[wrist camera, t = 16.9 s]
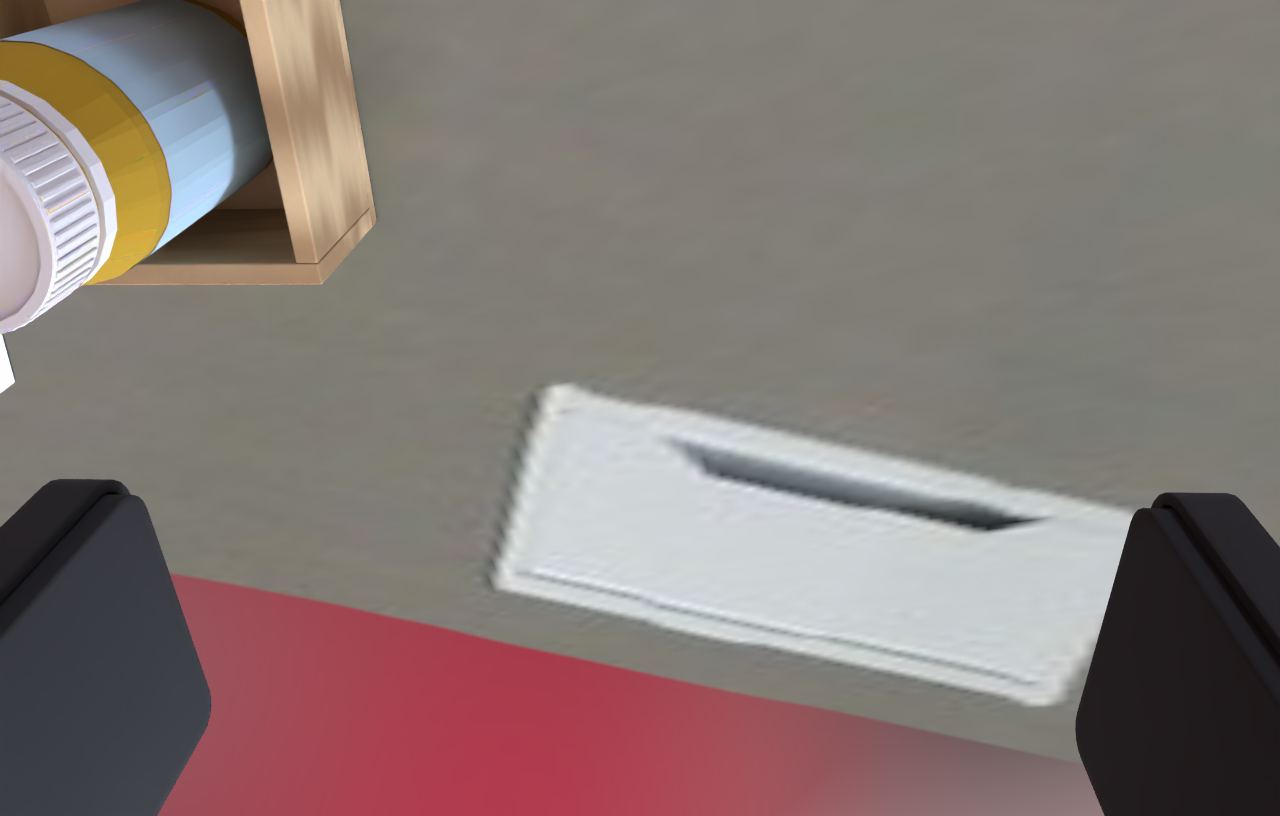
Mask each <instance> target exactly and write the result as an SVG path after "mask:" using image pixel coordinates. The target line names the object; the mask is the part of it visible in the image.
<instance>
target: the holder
mask: <svg viewBox="0 0 1280 816" xmlns="http://www.w3.org/2000/svg"><path fill="white" fill-rule="evenodd" d="M138 1H142V0H0V40H1V39H4V38H8V37H12V36H15V35H19V34H22V33H26V32H30V31H33V30H37V29H41V28H44V27H48V26H51V25H55V24H59V23H62V22H66V21H70V20H73V19H77V18H80V17H84V16H88V15H91V14H95V13H99V12H102V11H106V10H109V9H113V8H117V7H120V6H124V5H128V4H131V3H135V2H138ZM196 1H199V2H201V3H204V4H207V5H209V6H212V7H214V8H217V9H219V10H220V11H222V12H224V13H225V14H227V15H228V16H229V17H231V18H232V19H233V20H235V21H236V22H237V23H239V24H240V25H242V26H243V27H244V28H245V29H246V33H247V38H248V42H249V47H250V52H251V56H252V61H253V66H254V70H255V75H256V79H257V84H258V89H259V93H260V98H261V103H262V107H263V112H264V116H265V121H266V126H267V130H268V135H269V140H270V144H271V149H272V153H273V160H272V161H271V163H270V164H269V165H268V166H267V168H266V169H264V170H263V171H262V172H261V173H260V174H259V175H257V176H256V177H255V178H253V179H252V180H251V181H250V182H248V183H247V184H246V185H244V186H243V187H242V188H240V189H239V190H237V191H236V192H235V193H233V194H232V195H231V196H229V197H228V198H227V199H225V200H224V201H223V202H221V203H220V204H219V205H217V206H216V207H214V208H213V209H212V210H210V211H209V212H208V213H206V214H205V215H204V216H202V217H201V218H200V219H198V220H197V221H196V222H194V223H193V224H191V225H190V226H189V227H187V228H186V229H185V230H183V231H182V232H181V233H179V234H178V235H177V236H175V237H174V238H172V239H171V240H170V241H168V242H167V243H166V244H164V245H163V246H162V247H160V248H159V249H158V250H156V251H155V252H154V253H152V254H151V255H149V256H148V257H147V258H145V259H144V260H143V261H141V262H140V263H139V264H137V265H136V266H135V267H133V268H132V269H129V270H127V271H126V272H125V273H123V274H122V275H120V276H118V277H116V278H113V279H109V280H106V281H102V282H98V283H94V284H89V285H245V284H323V282H324V281H325V280H326V279H327V278H328V277H329V276H330V274H331V273H332V272H333V271H334V270H335V269H336V268H337V266H338V265H339V264H340V263H341V262H342V261H343V260H344V258H345V257H346V256H347V255H348V254H349V253H350V252H351V250H352V249H353V248H354V247H355V246H356V245H357V244H358V242H359V241H360V240H361V239H362V238H363V237H364V236H365V234H366V233H367V232H368V231H369V230H370V229H371V228H372V226H373V225H374V224H375V223H376V222H377V220H376V214H375V208H374V202H373V196H372V190H371V184H370V178H369V172H368V166H367V160H366V155H365V149H364V143H363V137H362V131H361V125H360V119H359V113H358V107H357V101H356V95H355V89H354V83H353V77H352V71H351V65H350V59H349V53H348V48H347V42H346V36H345V30H344V24H343V18H342V12H341V6H340V0H196Z"/></svg>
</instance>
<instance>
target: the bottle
mask: <svg viewBox="0 0 1280 816" xmlns="http://www.w3.org/2000/svg"><path fill="white" fill-rule="evenodd" d="M272 160H273V153H272V149H271V144H270V140H269V135H268V130H267V126H266V121H265V116H264V112H263V107H262V103H261V98H260V93H259V89H258V84H257V79H256V75H255V70H254V66H253V61H252V56H251V52H250V47H249V42H248V38H247V33H246V29H245V28H244V27H243V26H242V25H240V24H239V23H237V22H236V21H235V20H233V19H232V18H231V17H229V16H228V15H227V14H225V13H224V12H222V11H220V10H219V9H217V8H214V7H212V6H209V5H207V4H204V3H201V2H199V1H196V0H142V1H138V2H135V3H131V4H128V5H124V6H120V7H117V8H113V9H109V10H106V11H102V12H99V13H95V14H91V15H88V16H84V17H80V18H77V19H73V20H70V21H66V22H62V23H59V24H55V25H51V26H48V27H44V28H41V29H37V30H33V31H30V32H26V33H22V34H19V35H15V36H12V37H8V38H4V39H1V40H0V334H3V333H6V332H8V331H14V330H16V329H17V328H19V327H23V326H25V325H26V324H28V323H29V322H31V321H33V320H34V319H36V318H37V317H38V316H40V315H41V314H43V313H44V312H46V311H47V310H48V309H50V308H51V307H53V306H54V305H55V304H57V303H58V302H60V301H61V300H63V299H64V298H65V297H67V296H68V295H70V294H71V293H72V292H73V291H74V290H75V289H77V288H78V287H80V286H81V285H89V284H94V283H98V282H102V281H106V280H109V279H113V278H116V277H118V276H120V275H122V274H123V273H125V272H126V271H127V270H129V269H132V268H133V267H135V266H136V265H137V264H139V263H140V262H141V261H143V260H144V259H145V258H147V257H148V256H149V255H151V254H152V253H154V252H155V251H156V250H158V249H159V248H160V247H162V246H163V245H164V244H166V243H167V242H168V241H170V240H171V239H172V238H174V237H175V236H177V235H178V234H179V233H181V232H182V231H183V230H185V229H186V228H187V227H189V226H190V225H191V224H193V223H194V222H196V221H197V220H198V219H200V218H201V217H202V216H204V215H205V214H206V213H208V212H209V211H210V210H212V209H213V208H214V207H216V206H217V205H219V204H220V203H221V202H223V201H224V200H225V199H227V198H228V197H229V196H231V195H232V194H233V193H235V192H236V191H237V190H239V189H240V188H242V187H243V186H244V185H246V184H247V183H248V182H250V181H251V180H252V179H253V178H255V177H256V176H257V175H259V174H260V173H261V172H262V171H263V170H264V169H266V168H267V166H268V165H269V164H270V163H271V161H272Z"/></svg>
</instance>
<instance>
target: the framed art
mask: <svg viewBox="0 0 1280 816" xmlns="http://www.w3.org/2000/svg"><path fill="white" fill-rule="evenodd" d="M14 382H15V381H14V377H13V373H12V369H11V366H10V362H9V358H8V355H7V351H6V347H5V344H4V340H3V336H2V334H0V393H1V392H3V391H4V390H5V389H6V388H8V387H9V386H10V385H12V384H13V383H14Z"/></svg>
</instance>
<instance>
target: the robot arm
mask: <svg viewBox="0 0 1280 816" xmlns="http://www.w3.org/2000/svg"><path fill="white" fill-rule="evenodd" d="M210 712H211V695H210V690H209V687H208V684H207V681H206V679H205V676H204V673H203V670H202V667H201V664H200V661H199V658H198V655H197V652H196V649H195V647H194V644H193V641H192V638H191V635H190V632H189V629H188V626H187V623H186V620H185V617H184V615H183V612H182V609H181V606H180V603H179V600H178V597H177V594H176V591H175V588H174V586H173V583H172V580H171V577H170V574H169V571H168V568H167V565H166V562H165V559H164V556H163V554H162V551H161V548H160V545H159V542H158V539H157V536H156V533H155V530H154V527H153V525H152V522H151V519H150V516H149V513H148V510H147V508H146V506H145V504H144V502H143V500H141V499H140V498H139V497H138V496H135V495H130V493H129V491H128V489H127V488H126V487H125V486H124V485H123V484H122V483H121V482H118V481H115V480H93V479H58V480H53V481H50V482H49V483H47V484H46V485H44V486H43V487H42V488H41V489H40V490H39V491H38V492H37V493H35V494H34V495H33V496H32V497H31V498H30V499H29V500H28V501H27V502H26V503H25V504H24V505H23V506H22V507H21V508H20V509H19V510H18V511H17V512H16V513H15V514H14V515H13V516H12V517H11V518H10V519H9V520H8V521H7V522H5V523H4V524H3V525H2V526H1V527H0V816H157V815H158V813H159V811H160V809H161V808H162V806H163V804H164V802H165V800H166V799H167V797H168V795H169V793H170V792H171V790H172V788H173V786H174V785H175V783H176V781H177V779H178V777H179V776H180V774H181V772H182V771H183V769H184V767H185V765H186V764H187V762H188V760H189V758H190V756H191V755H192V753H193V751H194V749H195V748H196V746H197V744H198V742H199V740H200V739H201V737H202V735H203V733H204V731H205V729H206V727H207V725H208V721H209V718H210ZM1075 730H1076V741H1077V746H1078V750H1079V754H1080V757H1081V759H1082V762H1083V764H1084V767H1085V769H1086V771H1087V774H1088V776H1089V779H1090V781H1091V784H1092V786H1093V789H1094V791H1095V794H1096V796H1097V798H1098V801H1099V803H1100V806H1101V808H1102V811H1103V813H1104V815H1105V816H1280V547H1279V546H1278V545H1277V543H1276V542H1275V541H1274V540H1273V538H1272V537H1271V536H1270V535H1269V534H1268V532H1267V531H1266V530H1265V529H1264V527H1263V526H1262V525H1261V524H1260V523H1259V521H1258V520H1257V519H1256V518H1255V516H1254V515H1253V514H1252V513H1251V512H1250V510H1249V509H1248V508H1247V507H1246V505H1245V504H1244V503H1243V502H1242V501H1241V500H1240V499H1239V498H1238V497H1236V496H1235V495H1232V494H1228V493H1163V494H1161V495H1159V496H1158V497H1157V498H1156V500H1155V501H1154V502H1153V504H1152V507H1151V508H1142V509H1139V510H1137V512H1136V513H1135V514H1134V516H1133V518H1132V520H1131V523H1130V527H1129V530H1128V534H1127V537H1126V541H1125V545H1124V548H1123V552H1122V555H1121V559H1120V562H1119V566H1118V569H1117V573H1116V577H1115V580H1114V584H1113V587H1112V591H1111V594H1110V598H1109V601H1108V605H1107V609H1106V612H1105V616H1104V619H1103V623H1102V626H1101V630H1100V634H1099V637H1098V641H1097V644H1096V648H1095V651H1094V655H1093V658H1092V662H1091V666H1090V669H1089V673H1088V676H1087V680H1086V683H1085V687H1084V690H1083V694H1082V698H1081V701H1080V705H1079V708H1078V712H1077V717H1076V729H1075Z"/></svg>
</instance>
